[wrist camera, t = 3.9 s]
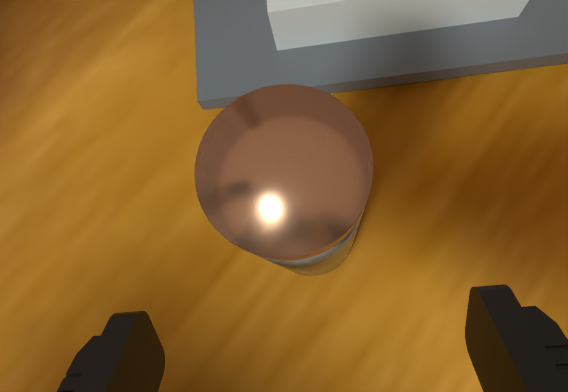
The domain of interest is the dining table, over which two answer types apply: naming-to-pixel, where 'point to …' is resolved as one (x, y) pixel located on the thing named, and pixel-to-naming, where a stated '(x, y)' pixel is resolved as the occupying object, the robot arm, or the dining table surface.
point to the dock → (368, 42)
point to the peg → (286, 176)
